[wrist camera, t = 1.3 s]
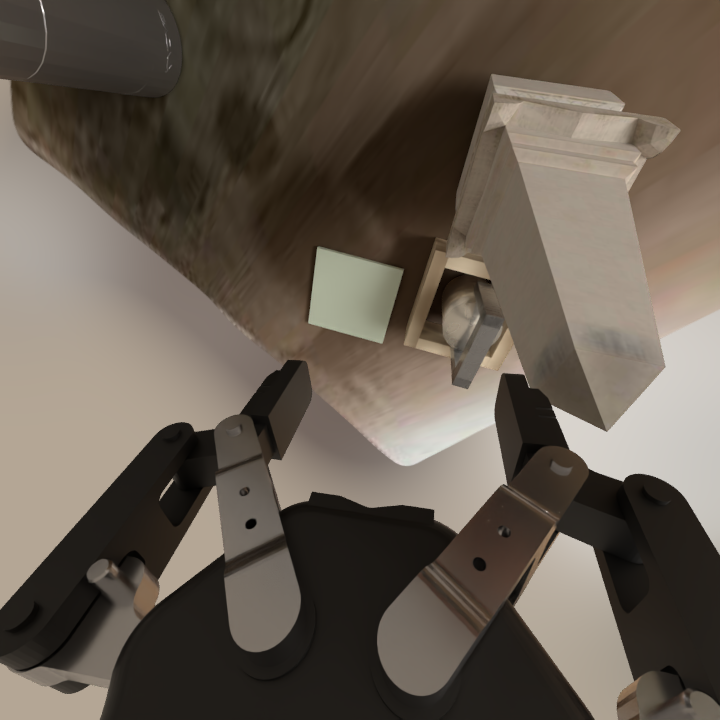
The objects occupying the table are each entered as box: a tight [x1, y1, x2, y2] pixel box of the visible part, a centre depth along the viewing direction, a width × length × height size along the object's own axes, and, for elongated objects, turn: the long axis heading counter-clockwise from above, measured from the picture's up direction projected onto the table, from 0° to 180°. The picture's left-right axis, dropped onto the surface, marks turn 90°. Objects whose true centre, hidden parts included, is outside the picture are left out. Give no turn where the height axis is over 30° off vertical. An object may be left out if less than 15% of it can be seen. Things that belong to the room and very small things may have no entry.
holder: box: [404, 238, 514, 371], centre depth 39 cm, size 12×12×5 cm
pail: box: [442, 274, 505, 389], centre depth 36 cm, size 6×8×13 cm
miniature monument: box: [445, 74, 681, 432], centre depth 21 cm, size 10×10×30 cm
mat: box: [308, 246, 404, 344], centre depth 43 cm, size 11×11×1 cm
